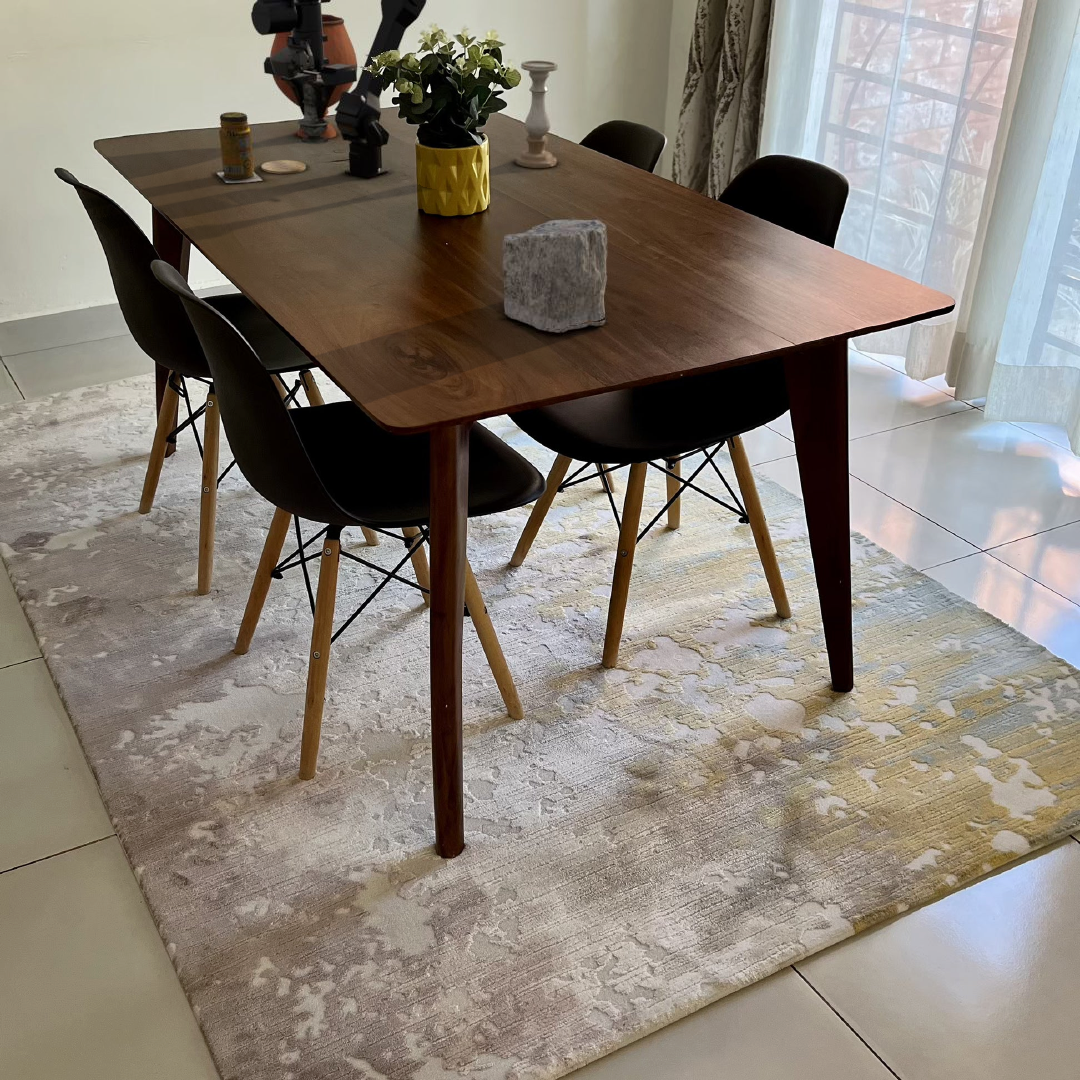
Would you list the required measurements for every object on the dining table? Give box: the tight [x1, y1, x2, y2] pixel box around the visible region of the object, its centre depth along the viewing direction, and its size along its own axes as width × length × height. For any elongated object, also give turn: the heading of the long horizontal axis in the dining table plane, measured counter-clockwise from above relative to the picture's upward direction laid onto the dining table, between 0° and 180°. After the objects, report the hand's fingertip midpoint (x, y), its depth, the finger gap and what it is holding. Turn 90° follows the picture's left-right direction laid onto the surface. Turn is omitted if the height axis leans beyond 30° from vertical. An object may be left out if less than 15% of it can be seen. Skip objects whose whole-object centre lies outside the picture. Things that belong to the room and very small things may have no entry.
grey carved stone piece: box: [297, 76, 330, 145], centre depth 228 cm, size 6×6×12 cm
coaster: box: [260, 159, 307, 175], centre depth 245 cm, size 9×9×1 cm
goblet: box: [269, 13, 358, 140], centre depth 264 cm, size 19×19×25 cm
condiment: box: [216, 111, 263, 184], centre depth 235 cm, size 7×8×12 cm
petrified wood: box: [501, 219, 608, 333], centre depth 176 cm, size 19×17×15 cm
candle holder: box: [515, 60, 559, 169], centre depth 250 cm, size 9×9×20 cm
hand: (312, 116), depth 229 cm, fingers closed on grey carved stone piece, 3 cm apart
